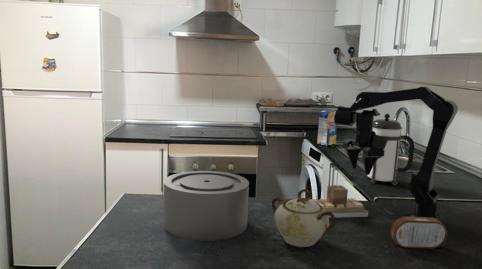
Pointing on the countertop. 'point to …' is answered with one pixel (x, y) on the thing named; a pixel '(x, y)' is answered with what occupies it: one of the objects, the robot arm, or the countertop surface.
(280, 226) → the sugar bowl
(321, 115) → the beverage box
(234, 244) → the countertop surface
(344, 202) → the brown wooden cube
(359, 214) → the dock
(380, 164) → the coffee press
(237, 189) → the container
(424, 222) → the tin
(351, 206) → the pallet
